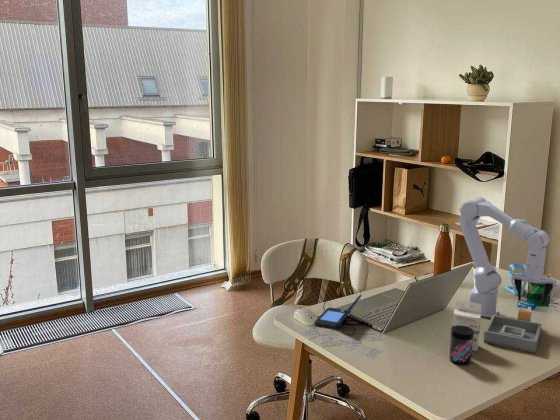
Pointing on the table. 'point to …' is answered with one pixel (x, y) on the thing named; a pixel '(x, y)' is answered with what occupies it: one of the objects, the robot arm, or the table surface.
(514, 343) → the walled box
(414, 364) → the table surface
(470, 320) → the ink box
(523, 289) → the chair
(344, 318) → the black screen device
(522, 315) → the orange brown rectangular block
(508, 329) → the socket
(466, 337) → the supplement container
